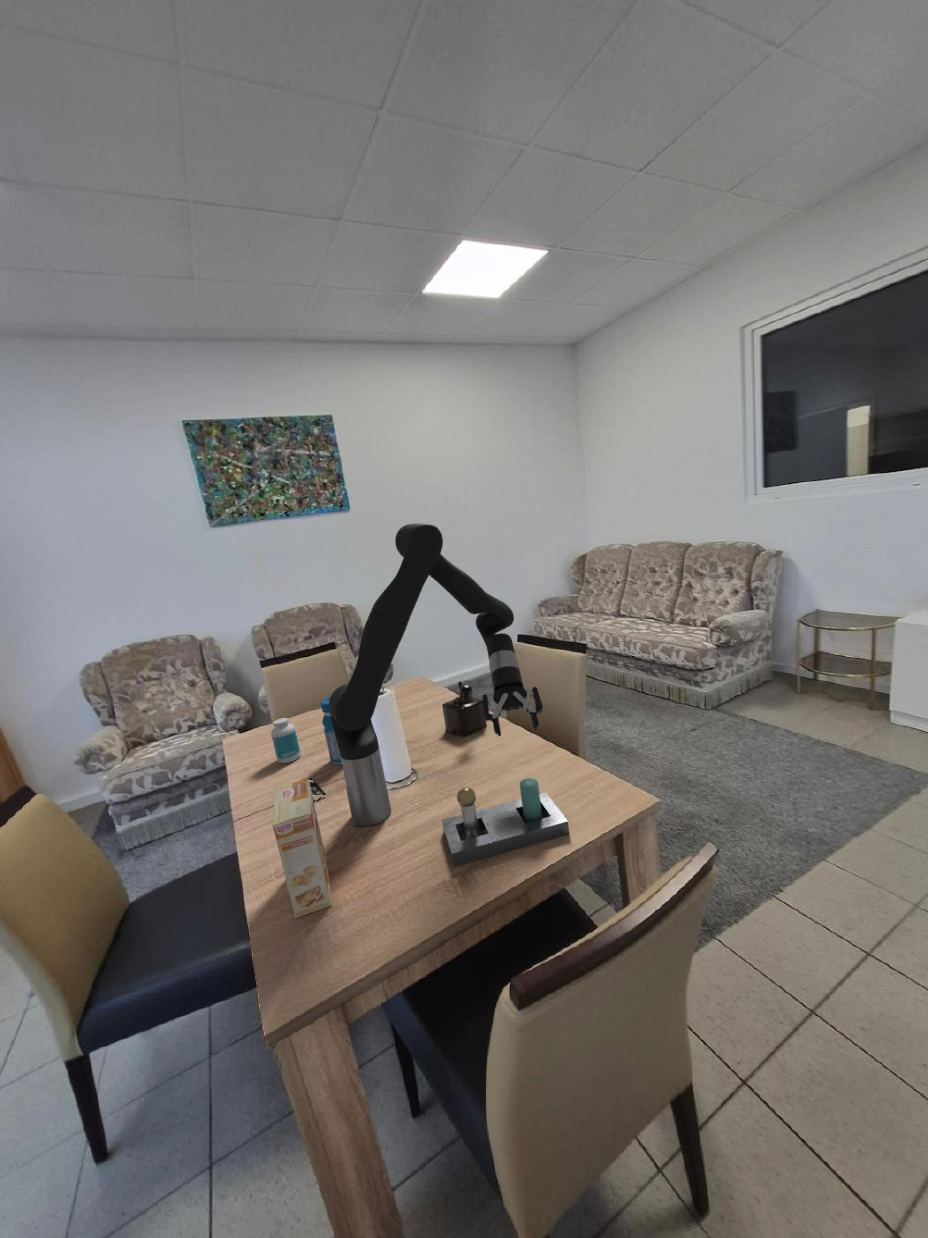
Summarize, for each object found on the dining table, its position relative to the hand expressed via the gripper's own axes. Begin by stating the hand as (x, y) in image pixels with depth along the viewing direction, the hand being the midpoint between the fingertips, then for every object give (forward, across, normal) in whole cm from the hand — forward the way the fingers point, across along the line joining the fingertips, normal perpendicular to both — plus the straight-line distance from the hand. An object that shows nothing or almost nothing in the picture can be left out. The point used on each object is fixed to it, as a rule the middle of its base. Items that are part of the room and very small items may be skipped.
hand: (517, 732), depth 113 cm
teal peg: (+20, 0, +4) cm, 20 cm away
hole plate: (+21, -7, +3) cm, 22 cm away
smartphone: (-1, -59, +26) cm, 65 cm away
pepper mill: (-19, -11, +43) cm, 48 cm away
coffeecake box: (+26, -47, -2) cm, 54 cm away
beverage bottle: (-14, -52, +38) cm, 66 cm away
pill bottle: (-18, -72, +42) cm, 85 cm away
